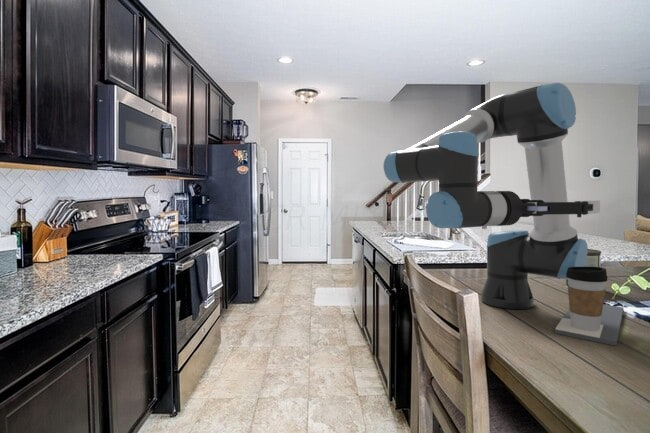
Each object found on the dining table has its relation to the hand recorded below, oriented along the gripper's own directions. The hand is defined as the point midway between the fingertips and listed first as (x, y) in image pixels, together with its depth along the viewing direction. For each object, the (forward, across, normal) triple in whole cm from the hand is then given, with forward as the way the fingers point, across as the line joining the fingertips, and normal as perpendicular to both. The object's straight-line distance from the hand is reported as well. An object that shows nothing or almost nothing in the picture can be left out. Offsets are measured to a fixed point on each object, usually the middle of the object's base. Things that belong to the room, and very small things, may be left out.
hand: (568, 206), depth 84 cm
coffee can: (+49, -32, -32) cm, 66 cm away
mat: (+18, -7, -32) cm, 38 cm away
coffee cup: (+9, -2, -31) cm, 32 cm away
